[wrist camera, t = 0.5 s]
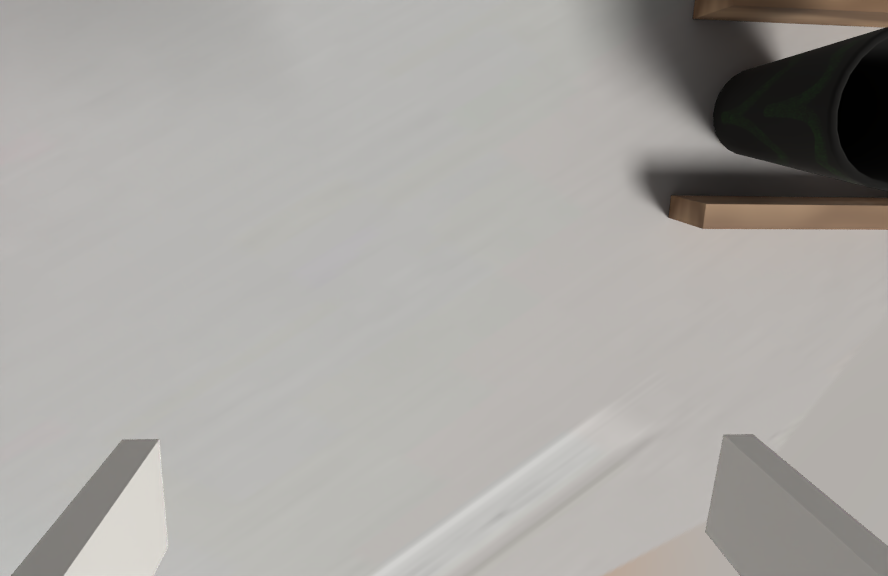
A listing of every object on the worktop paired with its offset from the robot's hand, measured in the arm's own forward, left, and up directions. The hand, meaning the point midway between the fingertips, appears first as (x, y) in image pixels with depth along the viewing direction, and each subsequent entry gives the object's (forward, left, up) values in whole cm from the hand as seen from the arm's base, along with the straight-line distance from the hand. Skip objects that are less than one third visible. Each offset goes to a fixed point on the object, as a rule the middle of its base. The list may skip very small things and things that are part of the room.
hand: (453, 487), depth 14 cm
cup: (-9, +23, -27) cm, 36 cm away
